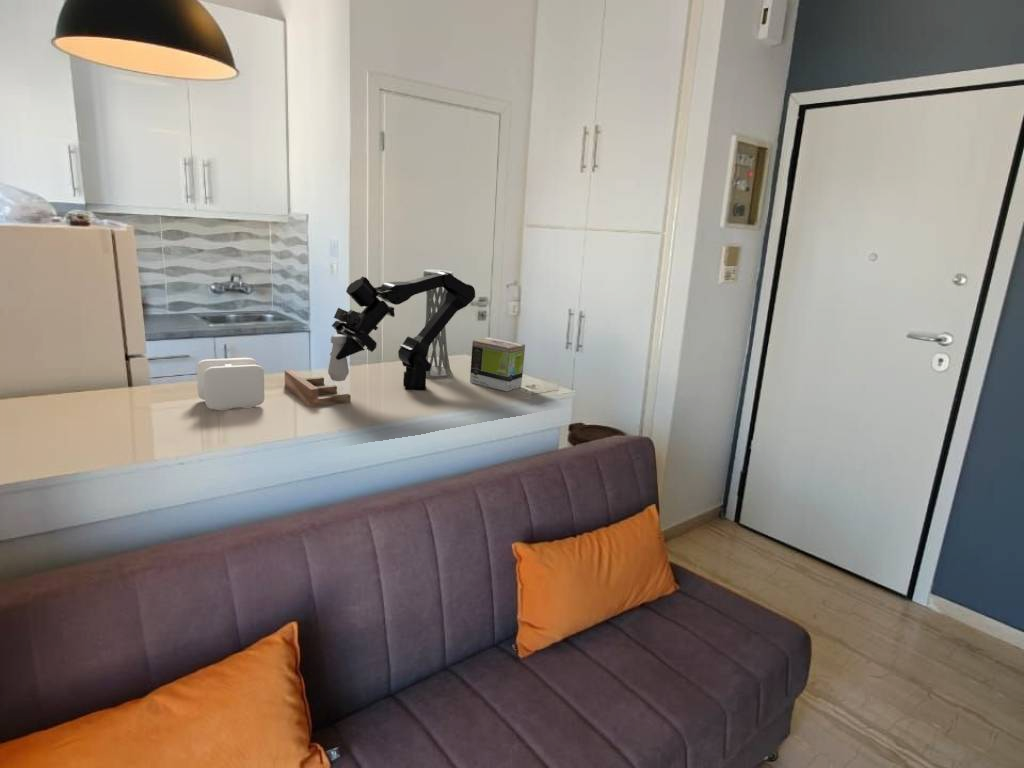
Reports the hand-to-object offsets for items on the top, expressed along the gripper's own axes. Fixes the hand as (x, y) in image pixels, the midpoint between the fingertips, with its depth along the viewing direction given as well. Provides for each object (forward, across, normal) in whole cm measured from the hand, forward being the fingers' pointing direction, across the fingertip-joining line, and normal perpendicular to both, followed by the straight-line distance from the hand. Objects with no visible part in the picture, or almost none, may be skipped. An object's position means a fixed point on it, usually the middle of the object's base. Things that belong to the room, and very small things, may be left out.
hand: (334, 357), depth 175 cm
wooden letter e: (+11, -5, +6) cm, 13 cm away
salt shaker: (+4, 0, +6) cm, 7 cm away
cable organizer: (+27, -5, -10) cm, 30 cm away
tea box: (-29, +7, +47) cm, 56 cm away
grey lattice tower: (-20, -13, +38) cm, 45 cm away
